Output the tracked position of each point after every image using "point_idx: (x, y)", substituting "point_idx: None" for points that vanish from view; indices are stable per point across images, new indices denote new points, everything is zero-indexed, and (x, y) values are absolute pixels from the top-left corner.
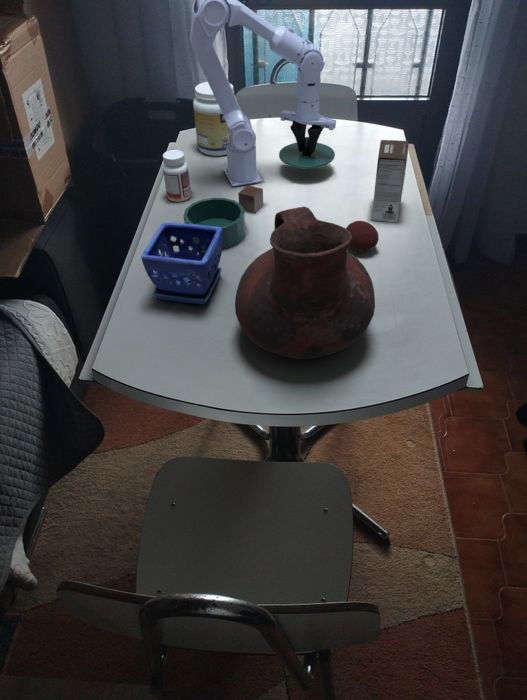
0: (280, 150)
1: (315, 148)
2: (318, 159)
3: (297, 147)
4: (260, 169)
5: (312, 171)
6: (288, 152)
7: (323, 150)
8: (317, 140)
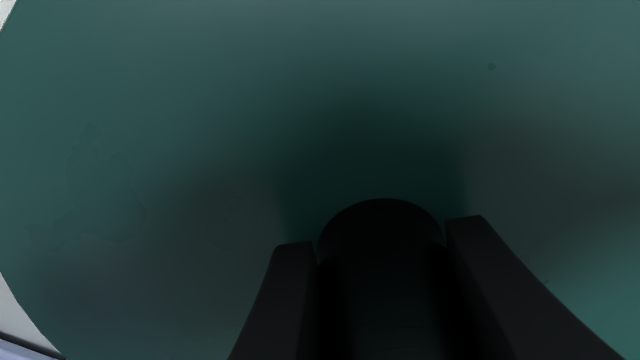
0: (51, 342)
1: (398, 59)
2: (593, 280)
3: (145, 185)
4: (6, 297)
5: None
6: (166, 331)
7: (557, 43)
8: (577, 325)
